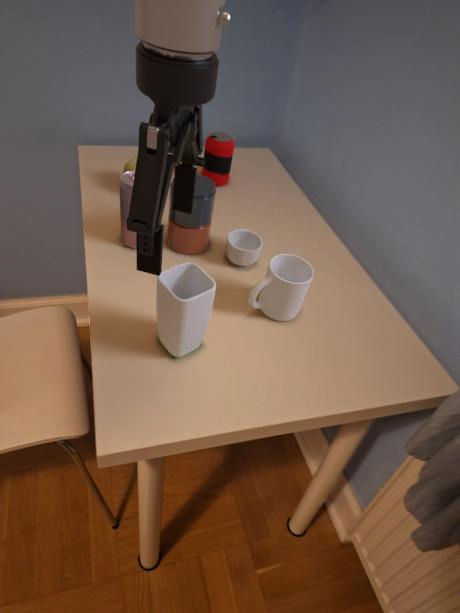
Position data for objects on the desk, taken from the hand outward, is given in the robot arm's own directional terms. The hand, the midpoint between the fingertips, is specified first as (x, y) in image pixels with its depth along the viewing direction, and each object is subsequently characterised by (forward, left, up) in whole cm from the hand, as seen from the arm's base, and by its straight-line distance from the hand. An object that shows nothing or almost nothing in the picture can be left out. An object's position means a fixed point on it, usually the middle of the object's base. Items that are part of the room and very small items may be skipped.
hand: (167, 238), depth 51 cm
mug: (+19, +15, -24) cm, 34 cm away
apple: (-14, +50, -24) cm, 57 cm away
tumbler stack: (0, +32, -24) cm, 40 cm away
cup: (+3, +3, -24) cm, 24 cm away
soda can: (+3, +62, -24) cm, 66 cm away
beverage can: (-11, +29, -24) cm, 39 cm away
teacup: (+12, +30, -24) cm, 40 cm away
